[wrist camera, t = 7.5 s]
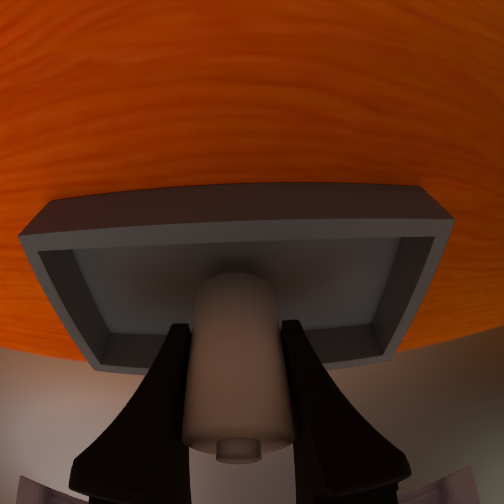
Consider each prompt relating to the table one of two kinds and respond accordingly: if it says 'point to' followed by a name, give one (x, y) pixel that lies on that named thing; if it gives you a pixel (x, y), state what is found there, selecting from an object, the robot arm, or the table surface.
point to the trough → (239, 263)
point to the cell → (236, 372)
